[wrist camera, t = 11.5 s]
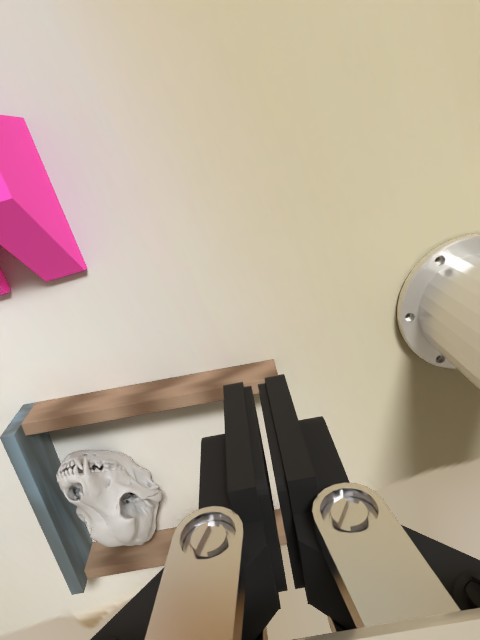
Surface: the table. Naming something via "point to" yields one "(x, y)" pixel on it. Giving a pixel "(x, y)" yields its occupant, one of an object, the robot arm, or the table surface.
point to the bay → (39, 418)
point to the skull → (111, 496)
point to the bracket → (32, 209)
